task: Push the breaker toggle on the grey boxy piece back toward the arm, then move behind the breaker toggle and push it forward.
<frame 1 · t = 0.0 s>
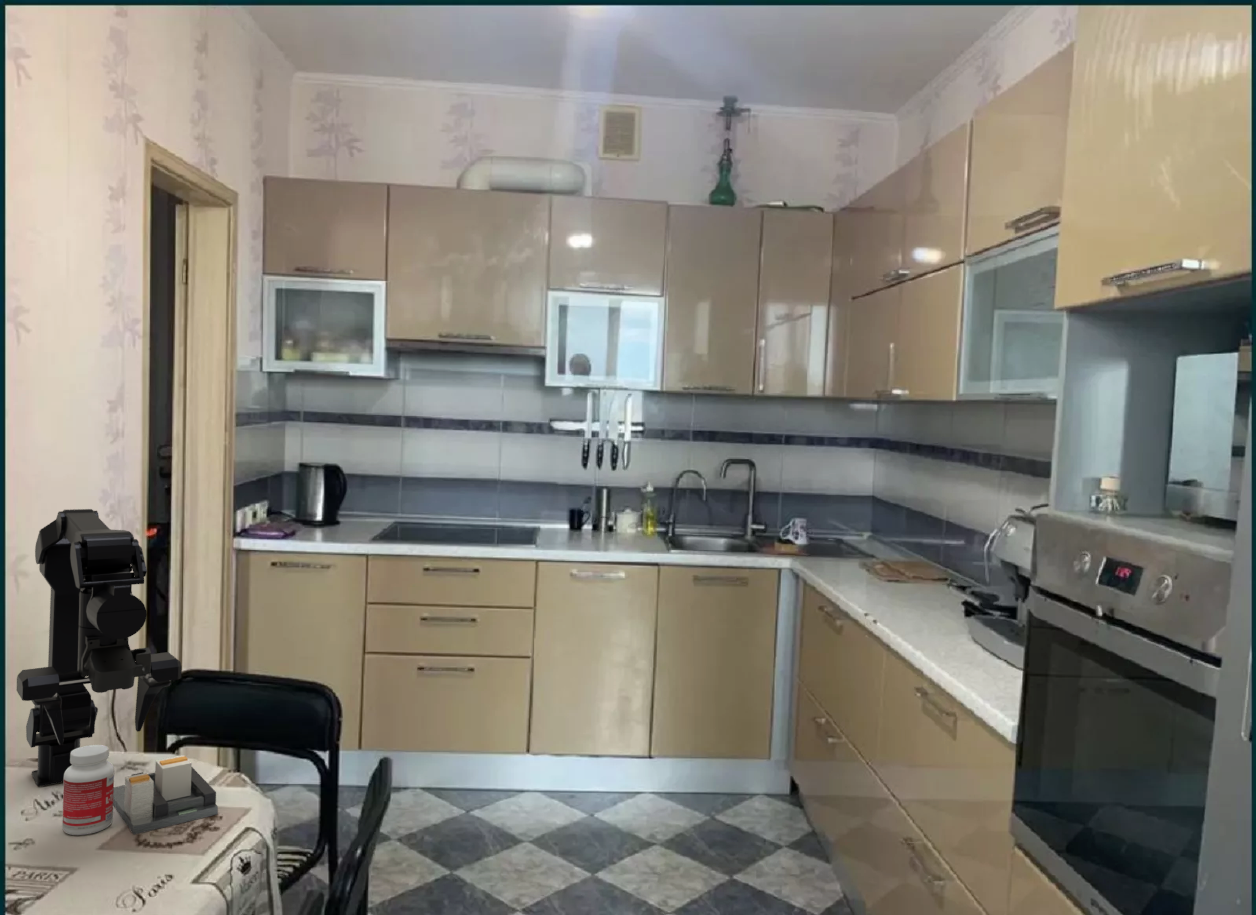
hand: (100, 737, 121), 15 cm above the table, fingers open, 9 cm apart
grey boxy piece: (161, 804, 134), on the table
breaker toggle: (173, 776, 134), point 4 cm above the table, slide at 4.0 cm
pill bottle: (87, 828, 126), on the table
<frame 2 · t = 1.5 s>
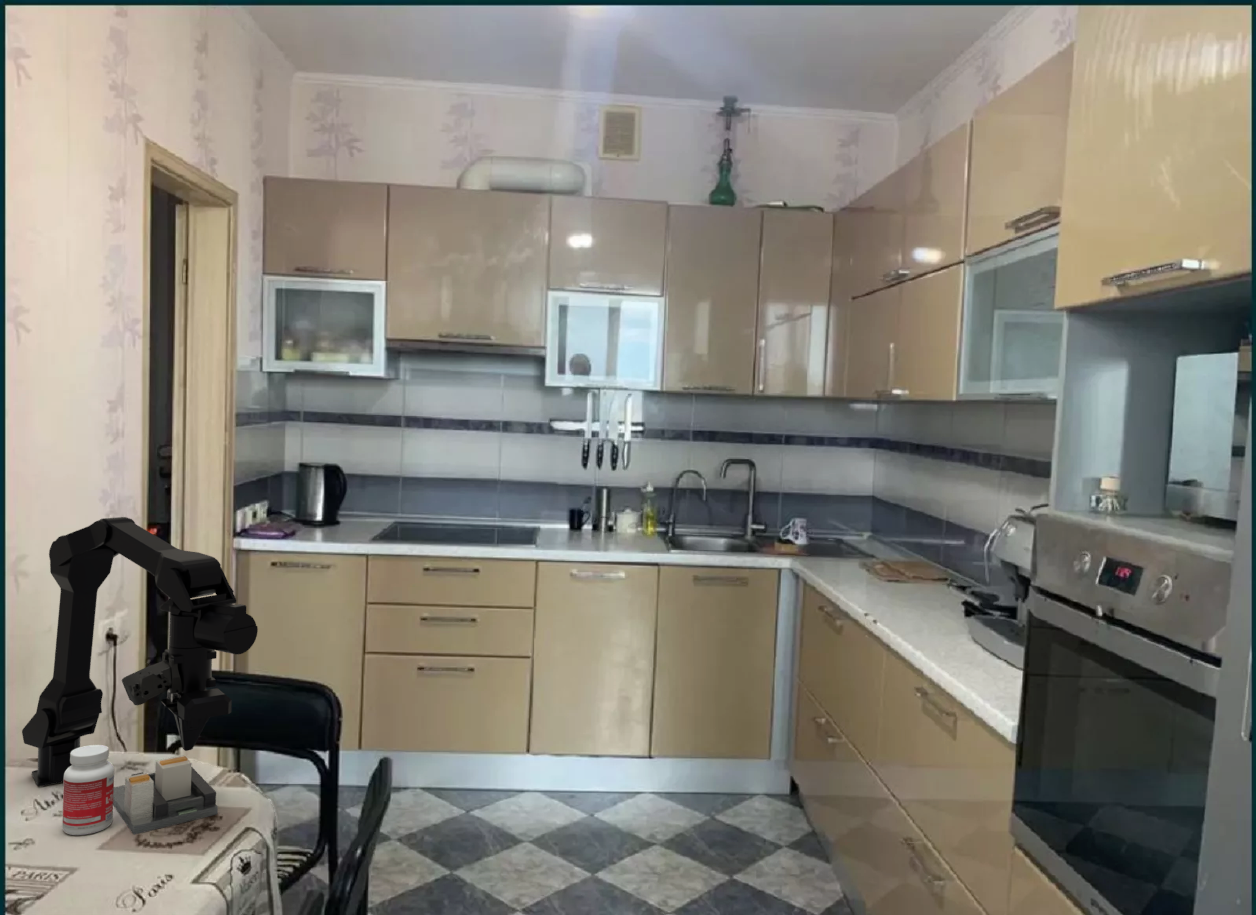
hand: (187, 749, 129), 10 cm above the table, fingers closed
nothing on the table moved.
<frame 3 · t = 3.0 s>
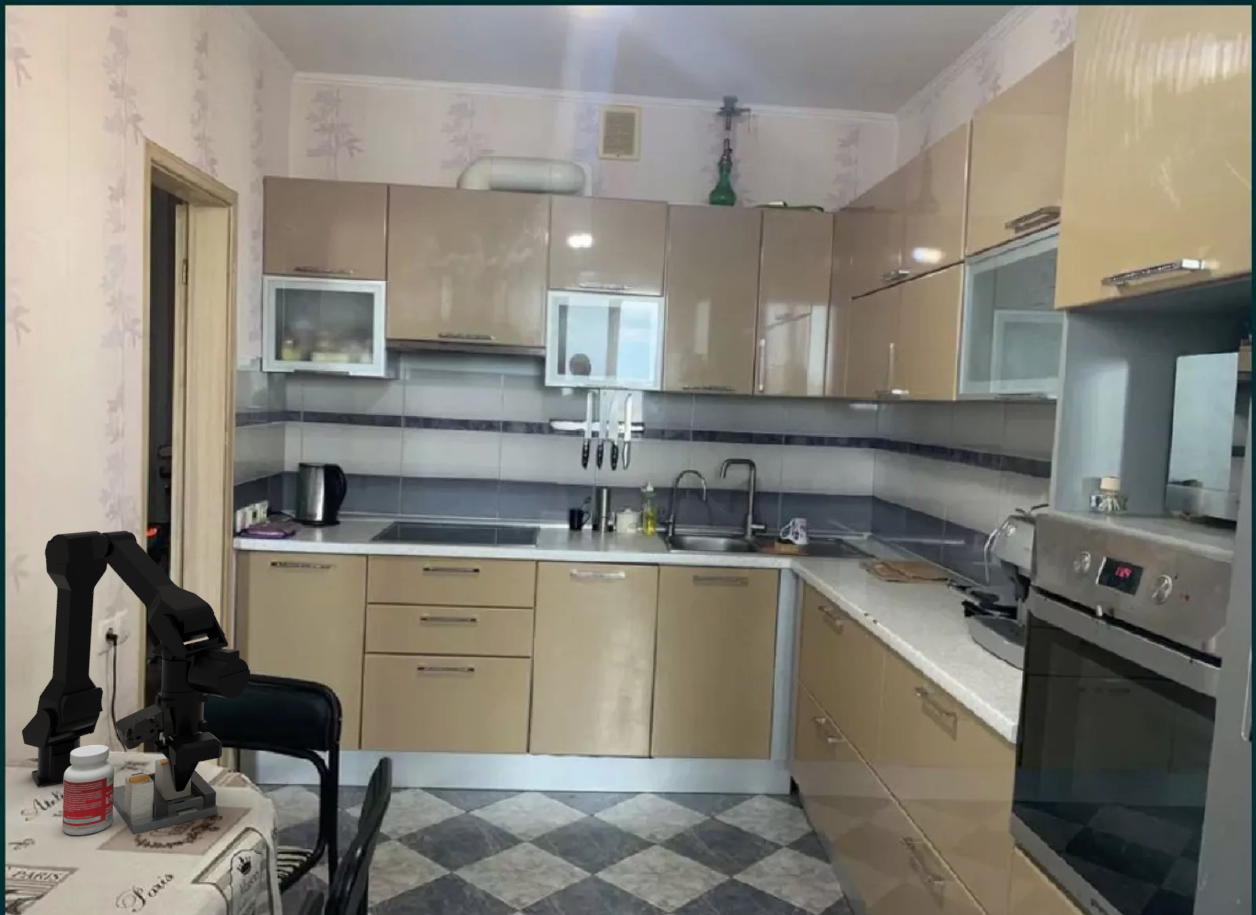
hand: (179, 790, 132), 3 cm above the table, fingers closed
breaker toggle: (173, 776, 135), point 4 cm above the table, slide at 3.9 cm, touching gripper
everything else where it was.
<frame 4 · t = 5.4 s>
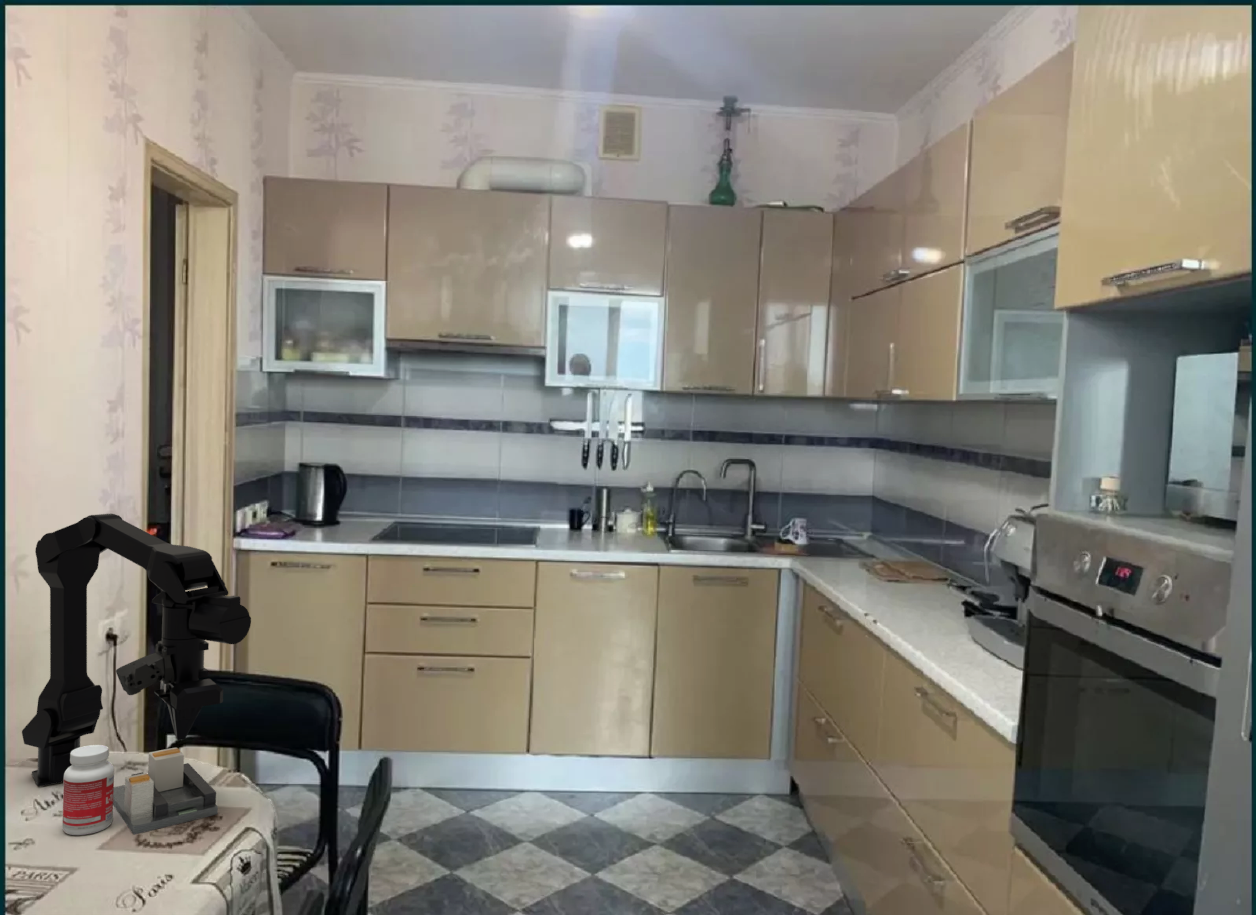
hand: (180, 739, 132), 11 cm above the table, fingers closed
breaker toggle: (165, 768, 137), point 4 cm above the table, slide at 0.0 cm
everything else where it was.
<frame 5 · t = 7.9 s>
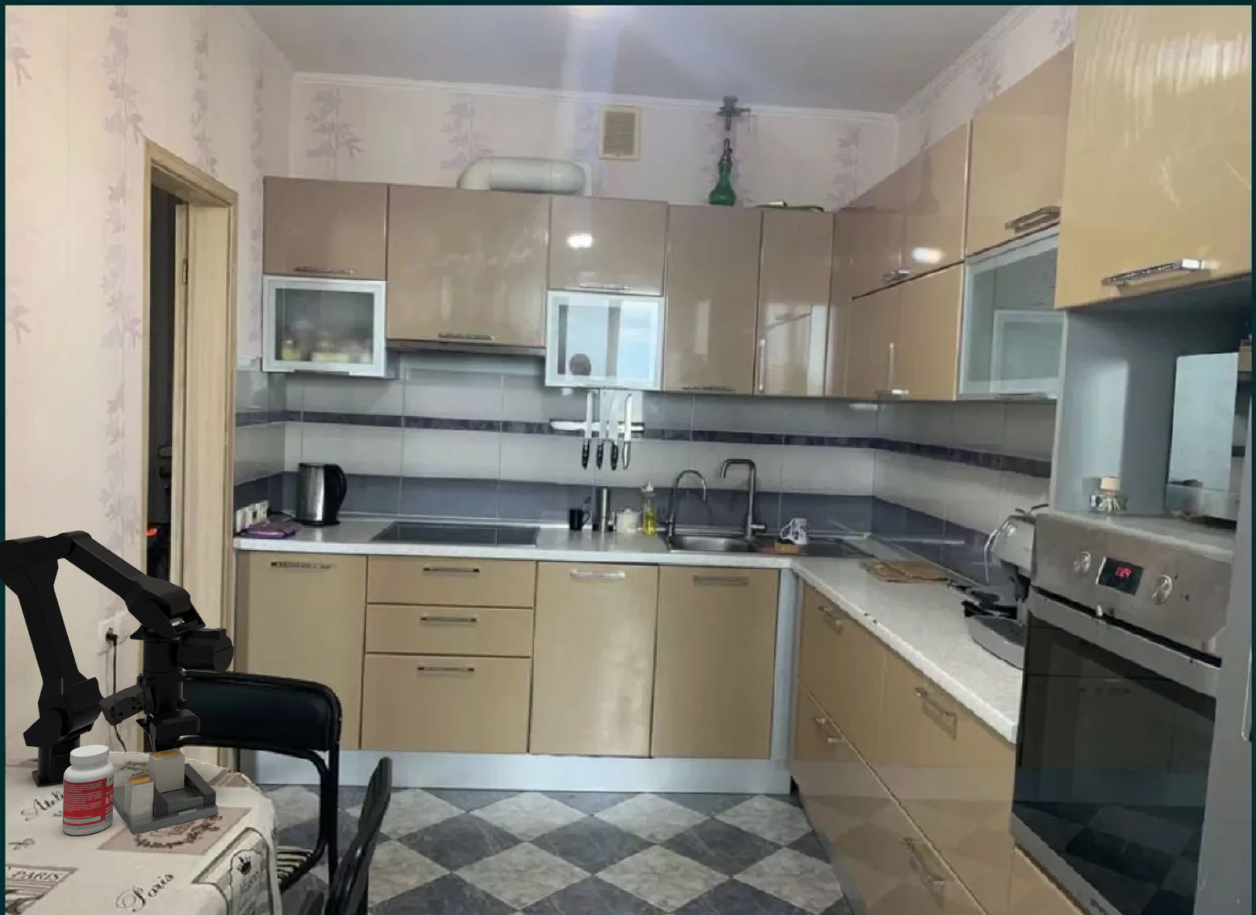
hand: (160, 765, 140), 3 cm above the table, fingers closed
breaker toggle: (166, 769, 137), point 4 cm above the table, slide at 0.5 cm, touching gripper
everything else where it was.
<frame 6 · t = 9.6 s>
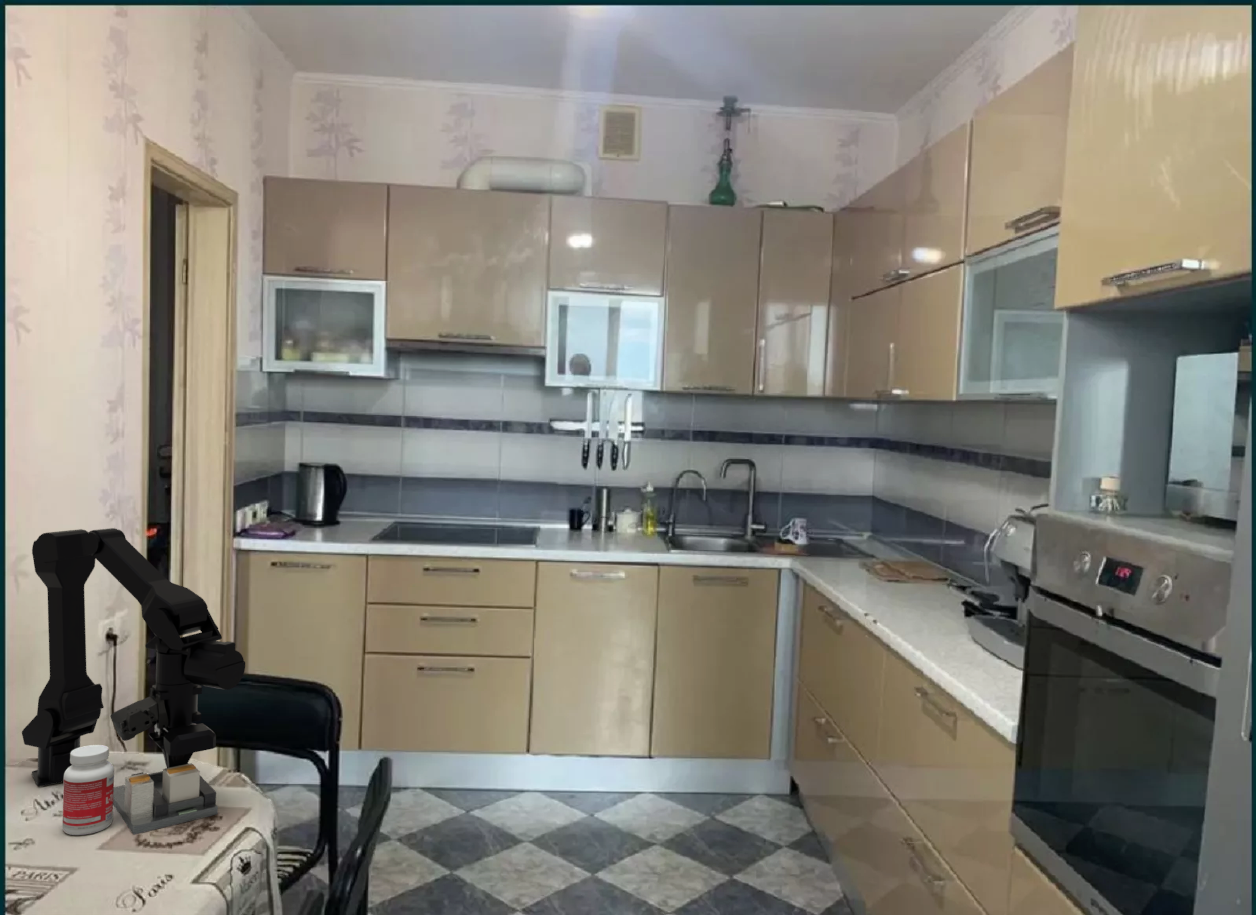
hand: (174, 781, 134), 3 cm above the table, fingers closed
breaker toggle: (180, 785, 131), point 4 cm above the table, slide at 8.1 cm, touching gripper
everything else where it was.
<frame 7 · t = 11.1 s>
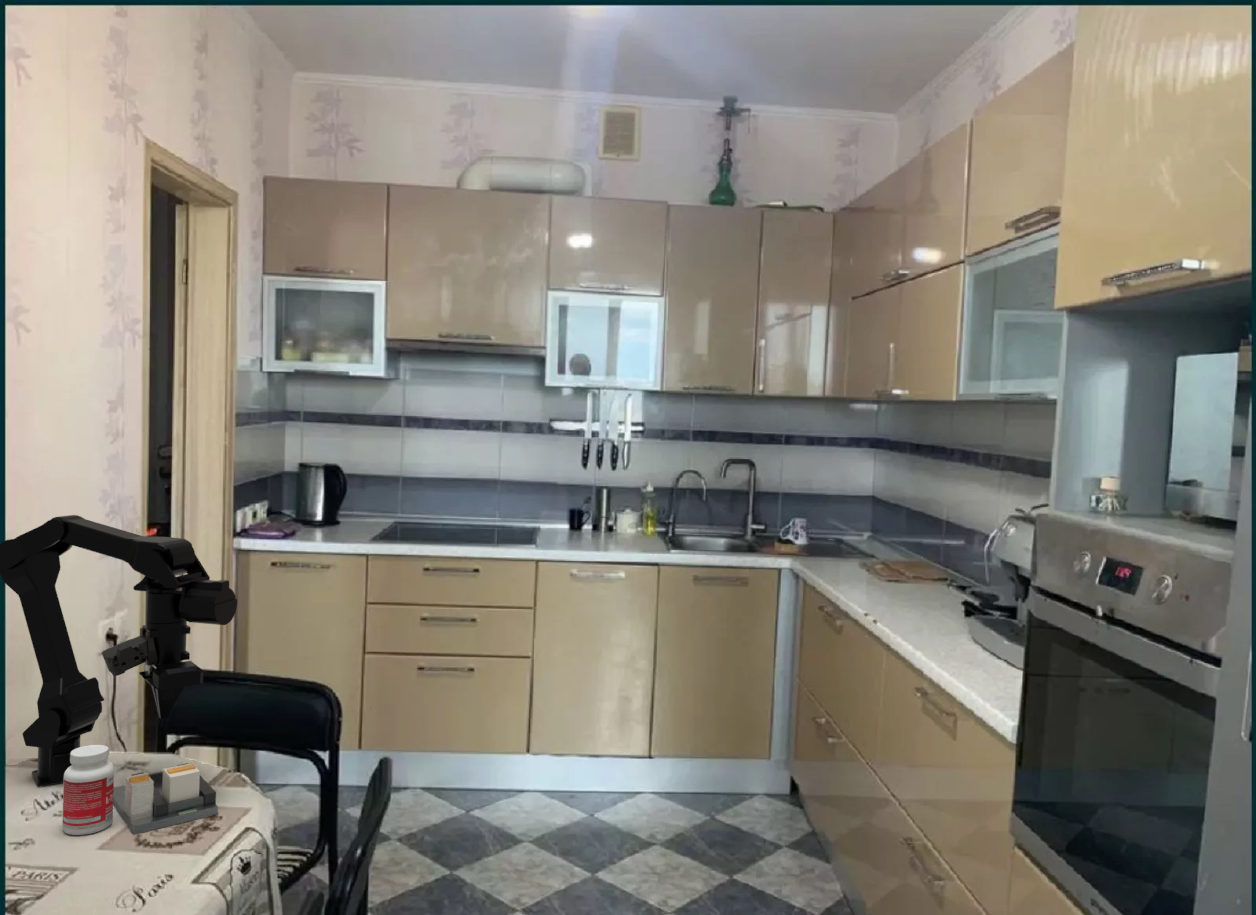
hand: (163, 718, 139), 11 cm above the table, fingers closed
breaker toggle: (180, 785, 131), point 4 cm above the table, slide at 8.0 cm
everything else where it was.
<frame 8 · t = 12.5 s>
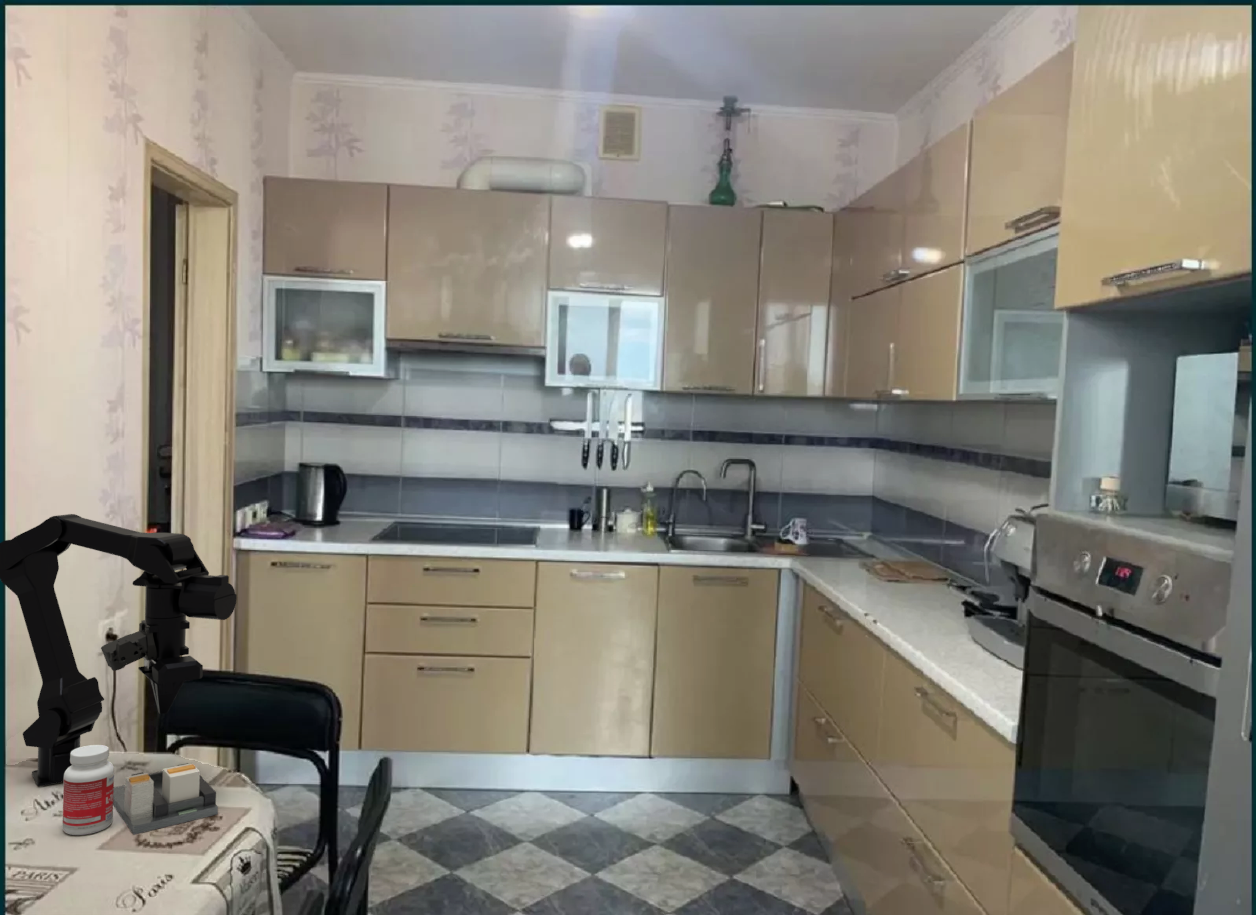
hand: (163, 713, 139), 12 cm above the table, fingers closed
nothing on the table moved.
at the end: breaker toggle slide at 8.0 cm; breaker toggle touching nothing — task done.
